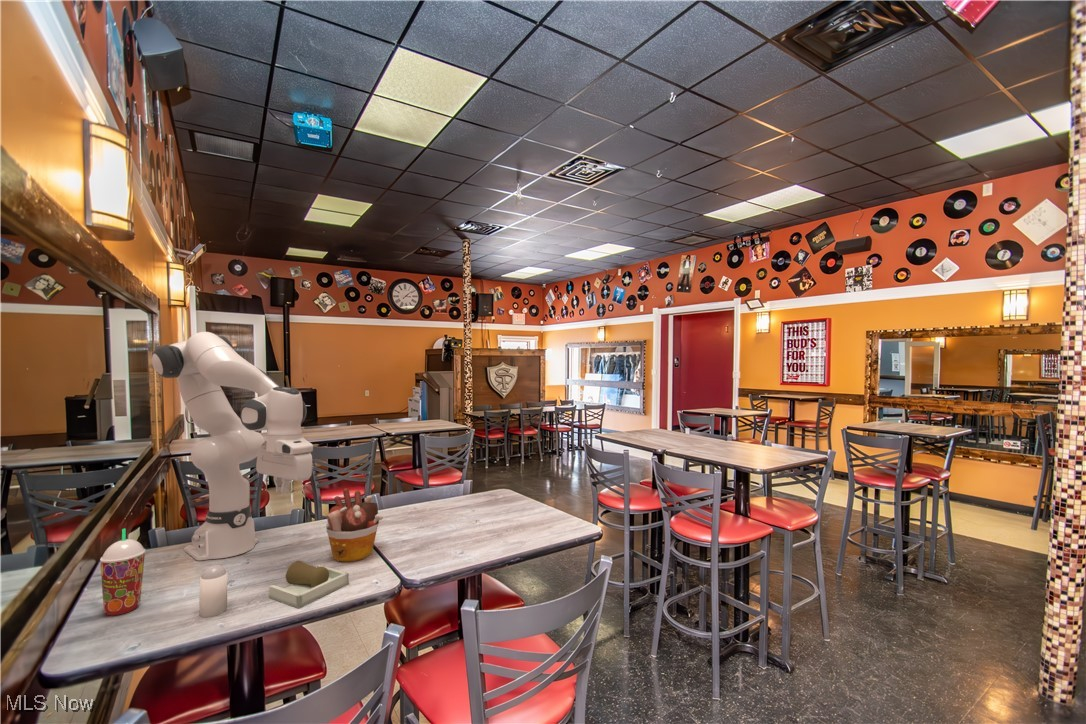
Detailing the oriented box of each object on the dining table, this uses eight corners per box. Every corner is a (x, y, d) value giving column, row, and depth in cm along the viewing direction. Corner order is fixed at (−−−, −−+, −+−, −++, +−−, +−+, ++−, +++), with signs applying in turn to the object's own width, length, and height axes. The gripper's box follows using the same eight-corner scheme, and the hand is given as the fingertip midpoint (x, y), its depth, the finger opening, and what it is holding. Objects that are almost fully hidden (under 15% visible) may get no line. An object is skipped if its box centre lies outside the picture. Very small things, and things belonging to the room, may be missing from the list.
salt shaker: (194, 614, 112) (195, 567, 112) (219, 603, 117) (220, 559, 117) (207, 619, 109) (207, 572, 109) (231, 609, 114) (232, 563, 114)
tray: (269, 597, 120) (269, 586, 120) (320, 575, 133) (320, 564, 133) (298, 608, 114) (298, 596, 114) (348, 584, 128) (348, 573, 128)
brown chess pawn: (282, 583, 124) (310, 589, 120) (291, 559, 127) (319, 564, 123) (300, 585, 129) (328, 590, 125) (308, 562, 132) (335, 567, 128)
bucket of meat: (387, 559, 145) (388, 496, 145) (331, 572, 135) (332, 504, 136) (370, 540, 161) (370, 483, 162) (319, 551, 151) (319, 490, 152)
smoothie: (91, 622, 108) (93, 536, 109) (108, 605, 116) (110, 526, 116) (136, 614, 112) (138, 531, 112) (149, 599, 119) (151, 521, 120)
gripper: (251, 441, 132) (248, 489, 132) (296, 449, 123) (294, 500, 123) (272, 439, 138) (270, 485, 138) (317, 446, 129) (315, 495, 128)
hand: (282, 492), depth 130 cm, fingers closed
